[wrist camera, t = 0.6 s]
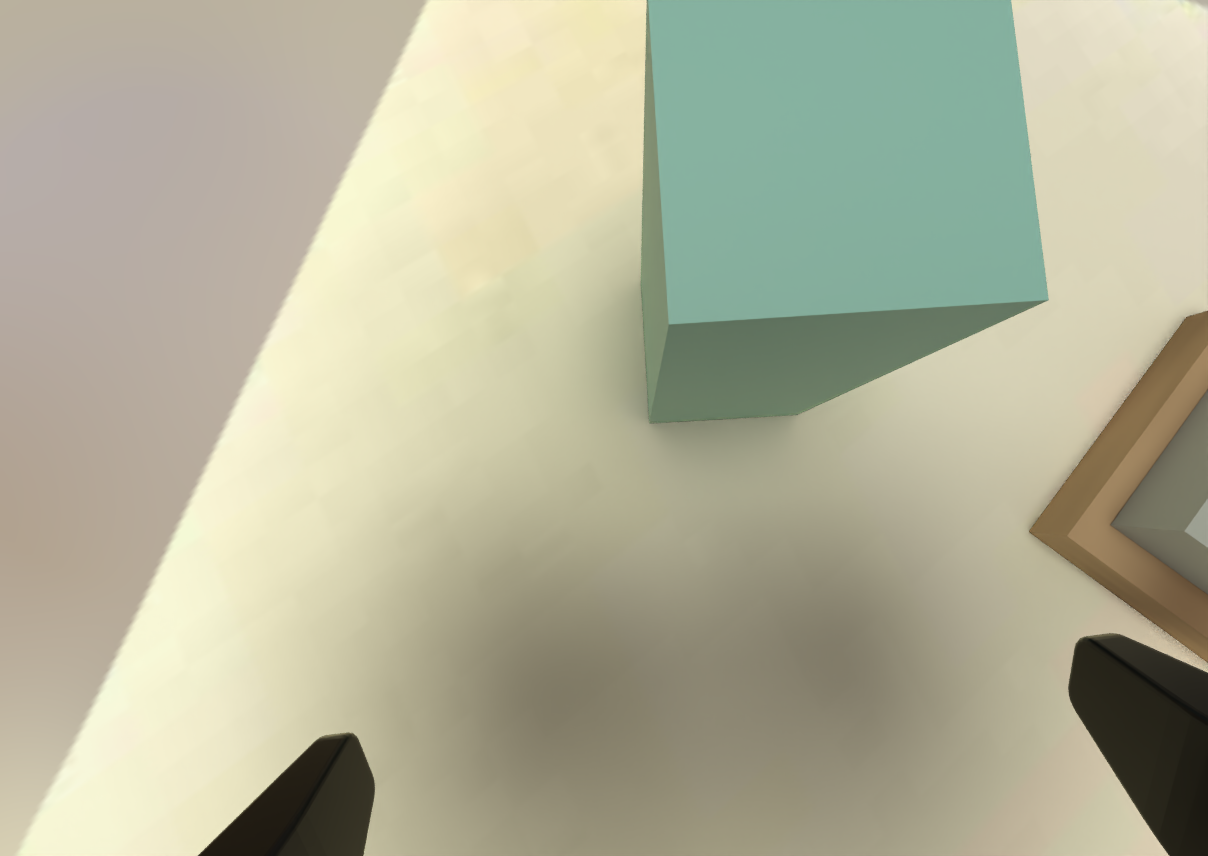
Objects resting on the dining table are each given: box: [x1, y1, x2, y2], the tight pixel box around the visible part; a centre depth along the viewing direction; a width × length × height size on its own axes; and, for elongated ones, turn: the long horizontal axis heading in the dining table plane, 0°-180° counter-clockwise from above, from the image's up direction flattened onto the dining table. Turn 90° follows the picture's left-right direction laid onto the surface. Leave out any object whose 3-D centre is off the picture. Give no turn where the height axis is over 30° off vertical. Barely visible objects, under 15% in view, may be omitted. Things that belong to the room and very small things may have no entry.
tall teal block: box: [641, 0, 1049, 423], centre depth 15 cm, size 5×5×13 cm
